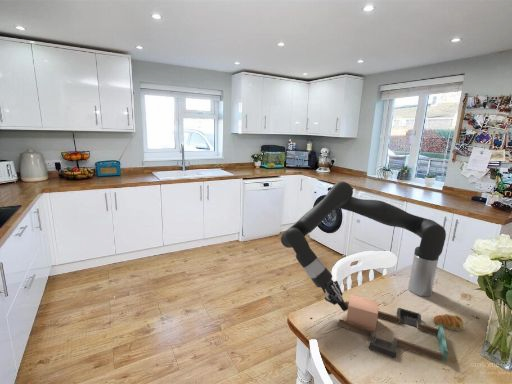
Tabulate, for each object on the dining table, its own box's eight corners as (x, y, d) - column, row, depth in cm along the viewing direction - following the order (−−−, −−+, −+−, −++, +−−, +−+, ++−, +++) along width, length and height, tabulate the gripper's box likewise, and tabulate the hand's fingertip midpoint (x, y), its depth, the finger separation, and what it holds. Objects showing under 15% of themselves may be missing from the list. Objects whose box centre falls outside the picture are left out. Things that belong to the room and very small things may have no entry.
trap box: (347, 297, 119) (348, 288, 118) (437, 323, 104) (439, 314, 103) (334, 336, 95) (335, 326, 94) (448, 378, 81) (451, 366, 80)
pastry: (437, 329, 101) (439, 320, 101) (429, 317, 108) (430, 309, 107) (465, 332, 100) (467, 323, 99) (455, 320, 107) (457, 312, 106)
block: (348, 311, 110) (350, 294, 108) (375, 319, 106) (378, 301, 104) (345, 323, 102) (348, 305, 101) (374, 332, 98) (377, 313, 97)
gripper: (315, 269, 115) (341, 304, 113) (305, 284, 104) (334, 323, 101) (328, 260, 112) (356, 296, 109) (320, 275, 100) (351, 315, 98)
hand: (346, 309), depth 105 cm, fingers closed
